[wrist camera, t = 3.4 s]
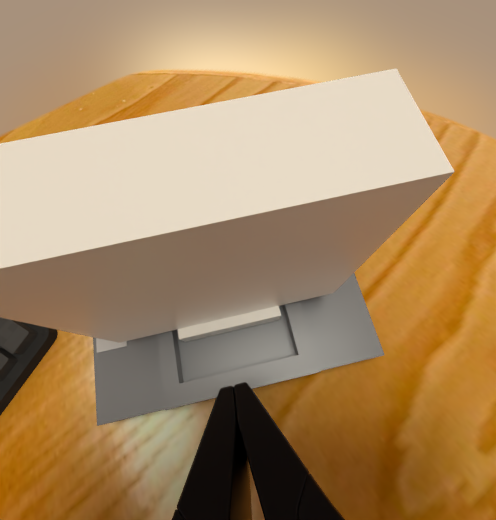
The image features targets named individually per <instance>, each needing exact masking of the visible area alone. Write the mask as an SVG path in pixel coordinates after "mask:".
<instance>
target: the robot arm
mask: <svg viewBox="0 0 496 520" xmlns="http://www.w3.org/2000/svg"><path fill="white" fill-rule="evenodd" d="M248 461H249V464H248ZM249 465H250V469H251V472H252V476H253V479H254V483H255V486H256V490H257V493H258V497H259V500H260V504H261V507H262V511H263V514H264V518H265V520H345V519H344V518H343V517H342V515H341V514H340V513H339V512H338V511H337V509H336V508H335V507H334V506H333V504H332V503H331V502H330V500H329V499H328V498H327V496H326V495H325V493H324V492H323V491H322V489H321V488H320V487H319V485H318V484H317V482H316V481H315V480H314V478H313V477H312V475H311V474H309V471H308V470H307V468H306V467H305V465H304V464H303V462H302V461H301V460H300V458H299V457H298V455H297V454H296V452H295V451H294V450H293V448H292V447H291V445H290V444H289V442H288V441H287V439H286V438H285V437H284V435H283V434H282V432H281V431H280V429H279V428H278V426H277V425H276V424H275V422H274V421H273V419H272V418H271V416H270V415H269V413H268V412H267V411H266V409H265V408H264V406H263V405H262V403H261V402H260V400H259V399H258V398H257V396H256V395H255V393H254V392H253V390H252V389H251V387H250V386H249V385H248V383H246V382H243V383H239V384H235V385H234V387H233V386H232V385H231V386H227V387H223V388H221V389H220V390H219V393H218V395H217V398H216V401H215V403H214V406H213V409H212V412H211V414H210V417H209V420H208V423H207V425H206V428H205V431H204V433H203V436H202V439H201V442H200V444H199V447H198V450H197V453H196V455H195V458H194V461H193V463H192V466H191V469H190V472H189V474H188V477H187V480H186V483H185V485H184V488H183V491H182V493H181V496H180V499H179V502H178V504H177V509H178V510H175V512H174V515H173V518H172V520H252V512H251V495H250V478H249Z"/></svg>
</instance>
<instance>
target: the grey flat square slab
mask: <svg viewBox="0 0 496 520" xmlns="http://www.w3.org/2000/svg"><path fill="white" fill-rule="evenodd" d="M279 309H280V312H281V317H280V319H279V320H277V321H272V322H268V323H264V324H260V325H255V326H251V327H247V328H243V329H238V330H234V331H230V332H226V333H221V334H217V335H213V336H208V337H204V338H200V339H196V340H191V341H187V342H184V341H182V340H179V336H178V329H177V330H172V331H168V332H164V333H159V334H155V335H151V336H146V337H142V338H138V339H133V340H129V341H125V342H120V343H118V342H113V341H109V340H104V339H99V338H95V337H93V345H94V367H95V389H96V411H97V426H99V425H103V424H107V423H111V422H115V421H119V420H123V419H127V418H131V417H135V416H139V415H143V414H147V413H151V412H155V411H159V410H164V409H165V410H168V409H172V408H176V407H180V406H184V405H188V404H192V403H196V402H200V401H204V400H208V399H212V398H216V397H217V395H218V393H219V390H220V389H221V388H223V387H227V386H231V385H232V386H233V387H234V385H235V384H239V383H243V382H246V383H248V385H249V386H250V387H251V389H253V388H257V387H261V386H265V385H269V384H273V383H277V382H281V381H285V380H289V379H293V378H297V377H301V376H305V375H310V374H314V373H318V372H320V371H322V370H326V369H330V368H334V367H338V366H342V365H346V364H350V363H354V362H358V361H362V360H366V359H370V358H375V357H379V356H383V355H384V352H383V350H382V347H381V344H380V342H379V339H378V336H377V334H376V331H375V328H374V325H373V323H372V320H371V317H370V315H369V312H368V309H367V307H366V304H365V301H364V298H363V296H362V293H361V290H360V288H359V285H358V282H357V280H356V277H355V274H354V273H353V274H352V275H351V276H350V277H349V278H348V279H347V280H346V281H345V282H344V283H343V284H342V285H341V286H340V287H339V288H338V289H337V290H336V291H335V292H334V293H332V294H328V295H323V296H319V297H315V298H310V299H306V300H302V301H297V302H293V303H289V304H284V305H280V306H279Z"/></svg>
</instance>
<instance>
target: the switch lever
mask: <svg viewBox="0 0 496 520" xmlns="http://www.w3.org/2000/svg"><path fill="white" fill-rule="evenodd" d="M453 173H454V170H453V168H452V166H451V165H450V163H449V161H448V159H447V157H446V156H445V154H444V152H443V150H442V149H441V147H440V145H439V143H438V142H437V140H436V138H435V136H434V134H433V133H432V131H431V129H430V127H429V126H428V124H427V122H426V120H425V119H424V117H423V115H422V113H421V111H420V110H419V108H418V106H417V104H416V103H415V101H414V99H413V97H412V96H411V94H410V92H409V90H408V89H407V87H406V85H405V83H404V82H403V80H402V78H401V76H400V74H399V73H398V71H397V69H391V70H386V71H381V72H375V73H370V74H365V75H359V76H355V77H349V78H344V79H338V80H333V81H328V82H322V83H317V84H312V85H307V86H301V87H296V88H291V89H286V90H280V91H275V92H270V93H265V94H259V95H254V96H249V97H244V98H238V99H233V100H228V101H222V102H217V103H212V104H207V105H201V106H196V107H191V108H186V109H180V110H175V111H170V112H165V113H159V114H154V115H149V116H144V117H138V118H133V119H128V120H122V121H117V122H112V123H107V124H101V125H96V126H91V127H86V128H80V129H75V130H70V131H65V132H59V133H54V134H49V135H44V136H38V137H33V138H28V139H22V140H17V141H12V142H7V143H1V144H0V318H5V319H10V320H14V321H19V322H24V323H29V324H33V325H38V326H43V327H47V328H52V329H57V330H62V331H66V332H71V333H76V334H80V335H85V336H90V337H95V338H99V339H104V340H109V341H113V342H118V343H120V342H125V341H129V340H133V339H138V338H142V337H146V336H151V335H155V334H159V333H164V332H168V331H172V330H177V329H178V336H179V340H182V341H184V342H187V341H191V340H196V339H200V338H204V337H208V336H213V335H217V334H221V333H226V332H230V331H234V330H238V329H243V328H247V327H251V326H255V325H260V324H264V323H268V322H272V321H277V320H279V319H280V317H281V312H280V309H279V306H280V305H284V304H289V303H293V302H297V301H302V300H306V299H310V298H315V297H319V296H323V295H328V294H332V293H334V292H335V291H336V290H337V289H338V288H339V287H340V286H341V285H342V284H343V283H344V282H345V281H346V280H347V279H348V278H349V277H350V276H351V275H352V274H353V273H354V272H355V271H356V270H357V269H358V268H359V267H360V266H361V265H362V264H363V263H364V262H365V261H366V260H367V259H368V258H369V257H370V256H371V255H372V254H373V253H374V252H375V251H376V250H377V249H378V248H379V247H380V246H381V245H382V244H383V243H384V242H385V241H386V240H387V239H388V238H389V237H390V236H391V235H392V234H393V233H394V232H395V231H396V230H397V229H398V228H399V227H400V226H401V225H402V224H403V223H404V222H405V221H406V220H407V219H408V218H409V217H410V216H411V215H412V214H413V213H414V212H415V211H416V210H417V209H418V208H419V207H420V206H421V205H422V204H423V203H424V202H425V201H426V200H427V199H428V198H429V197H430V196H431V195H432V194H433V193H434V192H435V191H436V190H437V189H438V188H439V187H440V186H441V185H442V184H443V183H444V182H445V181H446V180H447V179H448V178H449V177H450V176H451V175H452V174H453Z"/></svg>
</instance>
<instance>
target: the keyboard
mask: <svg viewBox="0 0 496 520" xmlns="http://www.w3.org/2000/svg"><path fill="white" fill-rule="evenodd" d="M56 338H57V330H56V329H52V328H47V327H43V326H38V325H33V324H29V323H24V322H19V321H14V320H10V319H5V318H0V415H1V414H2V412H3V411H4V410H5V408H6V407H7V406H8V404H9V403H10V402H11V400H12V399H13V398H14V396H15V395H16V393H17V392H18V391H19V389H20V388H21V387H22V385H23V384H24V383H25V381H26V380H27V379H28V377H29V376H30V374H31V373H32V372H33V370H34V369H35V368H36V366H37V365H38V364H39V362H40V361H41V360H42V358H43V357H44V355H45V354H46V353H47V351H48V350H49V349H50V347H51V346H52V345H53V343H54V342H55V340H56Z"/></svg>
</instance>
